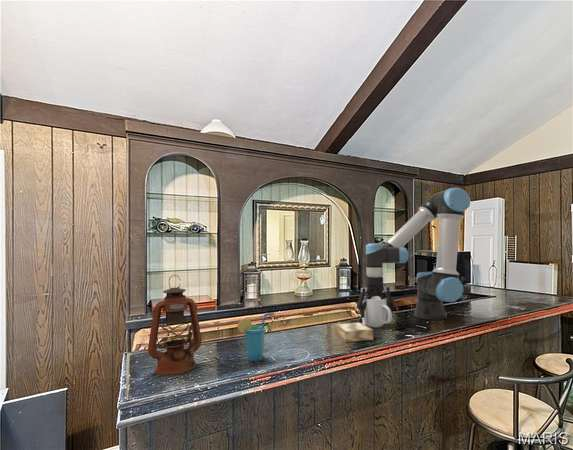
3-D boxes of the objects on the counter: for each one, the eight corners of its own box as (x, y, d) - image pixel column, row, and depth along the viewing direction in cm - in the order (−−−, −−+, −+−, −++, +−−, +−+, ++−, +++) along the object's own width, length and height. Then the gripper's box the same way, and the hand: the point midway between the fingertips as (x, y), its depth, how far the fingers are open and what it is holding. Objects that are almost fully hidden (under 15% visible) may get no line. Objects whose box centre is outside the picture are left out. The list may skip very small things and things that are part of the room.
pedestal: (360, 331, 141) (360, 322, 141) (373, 339, 129) (373, 329, 129) (334, 333, 138) (334, 324, 138) (345, 342, 126) (345, 331, 127)
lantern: (150, 380, 95) (150, 278, 96) (145, 366, 106) (145, 275, 108) (206, 368, 103) (206, 274, 105) (197, 356, 114) (196, 272, 116)
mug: (399, 328, 145) (398, 299, 146) (383, 332, 139) (382, 301, 140) (373, 321, 157) (372, 295, 158) (358, 325, 151) (357, 297, 152)
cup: (269, 350, 118) (268, 309, 119) (280, 357, 112) (279, 313, 112) (234, 359, 111) (233, 315, 111) (244, 366, 104) (243, 319, 105)
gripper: (392, 274, 156) (394, 320, 155) (348, 276, 151) (349, 323, 150) (401, 276, 149) (403, 324, 148) (354, 277, 144) (356, 327, 143)
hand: (376, 323), depth 149 cm, fingers closed on mug, 11 cm apart
